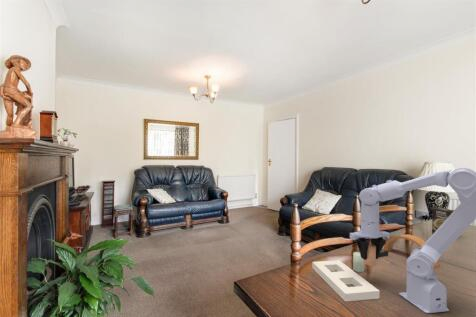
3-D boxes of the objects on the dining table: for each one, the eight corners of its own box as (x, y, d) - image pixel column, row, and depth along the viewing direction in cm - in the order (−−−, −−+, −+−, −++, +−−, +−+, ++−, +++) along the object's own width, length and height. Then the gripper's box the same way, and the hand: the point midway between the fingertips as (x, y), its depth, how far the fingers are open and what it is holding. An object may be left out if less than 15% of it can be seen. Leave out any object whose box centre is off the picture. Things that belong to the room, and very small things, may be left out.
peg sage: (366, 272, 90) (366, 255, 90) (357, 272, 90) (357, 256, 90) (359, 267, 94) (359, 251, 94) (350, 267, 94) (351, 252, 93)
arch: (432, 269, 93) (432, 245, 93) (383, 250, 111) (383, 230, 111) (439, 266, 96) (440, 242, 96) (390, 249, 114) (391, 229, 114)
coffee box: (431, 235, 135) (431, 208, 135) (437, 233, 137) (437, 207, 137) (450, 240, 126) (451, 211, 126) (456, 238, 129) (456, 210, 129)
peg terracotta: (378, 265, 81) (378, 247, 81) (368, 266, 80) (368, 247, 80) (370, 260, 85) (370, 243, 85) (360, 260, 84) (360, 243, 84)
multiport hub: (357, 256, 105) (357, 251, 105) (380, 252, 110) (380, 247, 110) (365, 260, 101) (365, 255, 101) (388, 256, 106) (388, 251, 106)
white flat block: (379, 298, 73) (379, 290, 73) (345, 301, 71) (345, 293, 71) (339, 266, 95) (339, 260, 95) (312, 267, 93) (312, 261, 93)
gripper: (379, 217, 87) (379, 252, 87) (344, 218, 85) (344, 254, 85) (394, 222, 80) (394, 260, 80) (357, 224, 78) (356, 263, 78)
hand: (369, 258), depth 82 cm, fingers closed on peg terracotta, 4 cm apart
